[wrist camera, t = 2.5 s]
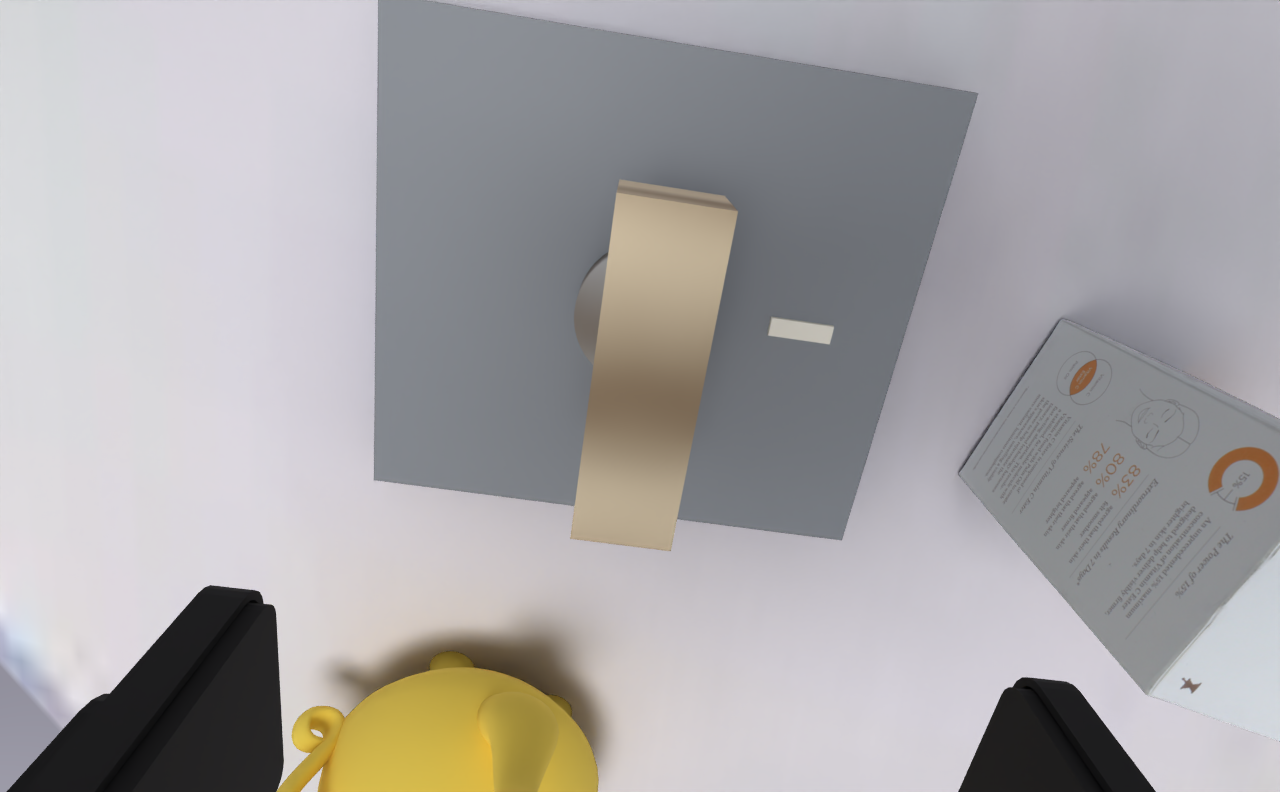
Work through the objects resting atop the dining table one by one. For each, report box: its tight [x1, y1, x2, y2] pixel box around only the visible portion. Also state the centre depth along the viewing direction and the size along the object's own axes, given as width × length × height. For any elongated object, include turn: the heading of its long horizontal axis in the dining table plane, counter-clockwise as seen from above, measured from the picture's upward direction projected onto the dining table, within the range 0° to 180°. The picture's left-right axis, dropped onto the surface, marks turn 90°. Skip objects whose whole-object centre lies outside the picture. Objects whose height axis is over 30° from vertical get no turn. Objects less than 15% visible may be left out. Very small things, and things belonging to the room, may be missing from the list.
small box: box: [959, 319, 1280, 742], centre depth 25 cm, size 8×6×13 cm
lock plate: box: [374, 0, 978, 540], centre depth 28 cm, size 18×20×2 cm
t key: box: [570, 180, 738, 551], centre depth 23 cm, size 10×5×8 cm, turn 171°
